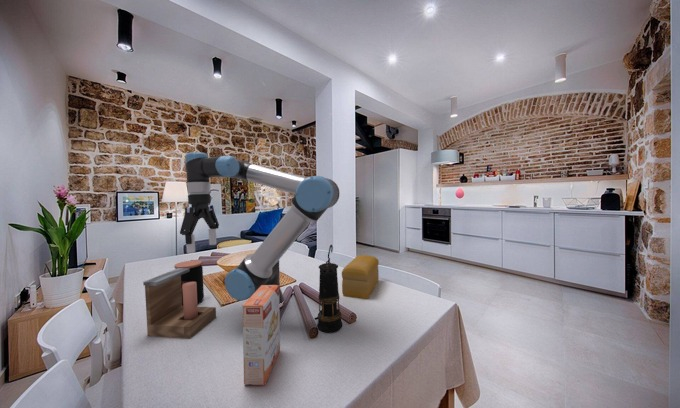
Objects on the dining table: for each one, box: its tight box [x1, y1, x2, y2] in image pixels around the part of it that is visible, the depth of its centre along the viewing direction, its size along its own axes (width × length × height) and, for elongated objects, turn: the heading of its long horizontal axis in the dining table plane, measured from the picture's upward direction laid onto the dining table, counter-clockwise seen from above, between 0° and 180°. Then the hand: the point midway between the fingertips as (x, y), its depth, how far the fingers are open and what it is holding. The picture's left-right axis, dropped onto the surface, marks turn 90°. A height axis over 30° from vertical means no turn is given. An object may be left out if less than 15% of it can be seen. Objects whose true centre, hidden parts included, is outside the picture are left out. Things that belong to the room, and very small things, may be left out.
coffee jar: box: [173, 259, 205, 306], centre depth 108 cm, size 11×11×18 cm
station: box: [142, 268, 217, 339], centre depth 89 cm, size 16×15×19 cm
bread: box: [341, 254, 380, 300], centre depth 122 cm, size 24×13×15 cm, turn 159°
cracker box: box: [241, 285, 281, 386], centre depth 67 cm, size 14×6×21 cm, turn 178°
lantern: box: [314, 244, 343, 334], centre depth 87 cm, size 9×9×30 cm
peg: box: [182, 282, 199, 320], centre depth 88 cm, size 4×4×16 cm
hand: (202, 248), depth 93 cm, fingers open, 13 cm apart
